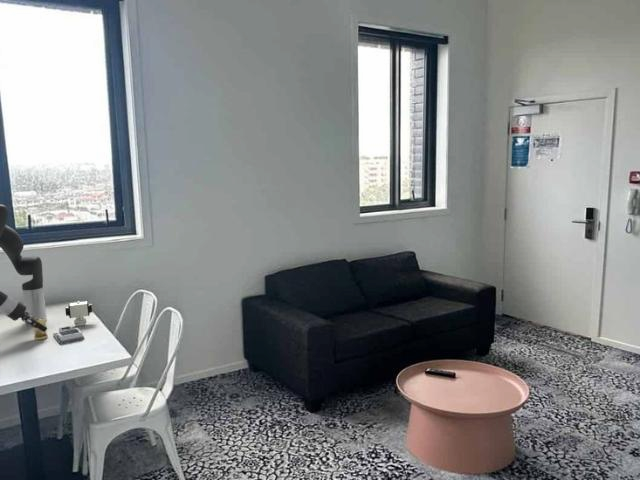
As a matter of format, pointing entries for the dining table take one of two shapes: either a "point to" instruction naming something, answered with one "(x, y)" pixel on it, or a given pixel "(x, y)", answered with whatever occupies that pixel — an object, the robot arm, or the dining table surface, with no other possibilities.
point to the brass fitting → (38, 333)
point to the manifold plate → (68, 335)
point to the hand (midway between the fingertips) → (44, 328)
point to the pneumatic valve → (79, 312)
